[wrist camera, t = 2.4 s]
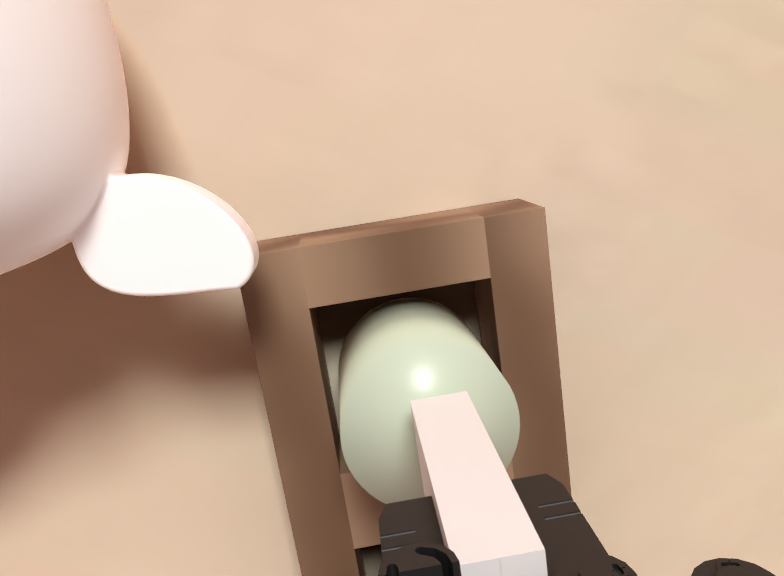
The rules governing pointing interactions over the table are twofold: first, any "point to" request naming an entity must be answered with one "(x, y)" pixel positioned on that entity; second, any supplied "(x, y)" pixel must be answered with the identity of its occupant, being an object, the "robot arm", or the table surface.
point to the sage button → (412, 391)
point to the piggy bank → (97, 166)
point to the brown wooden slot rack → (380, 278)
